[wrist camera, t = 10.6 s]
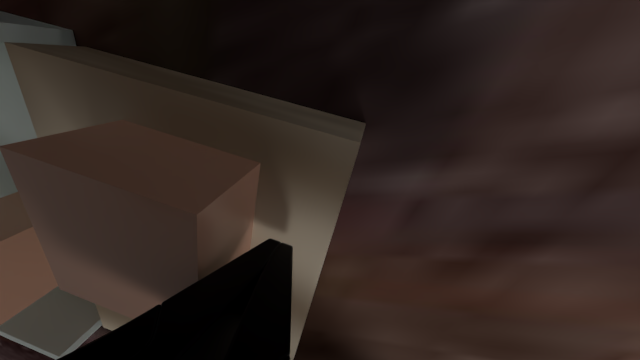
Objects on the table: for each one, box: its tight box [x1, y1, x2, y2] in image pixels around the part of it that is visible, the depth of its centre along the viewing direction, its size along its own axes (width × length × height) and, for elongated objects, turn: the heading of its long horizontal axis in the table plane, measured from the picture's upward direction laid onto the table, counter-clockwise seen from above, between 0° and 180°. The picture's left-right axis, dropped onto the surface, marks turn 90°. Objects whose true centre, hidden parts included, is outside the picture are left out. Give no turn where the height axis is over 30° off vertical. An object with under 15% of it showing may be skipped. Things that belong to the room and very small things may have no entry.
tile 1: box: [0, 120, 260, 319], centre depth 8 cm, size 5×5×3 cm
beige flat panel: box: [4, 42, 366, 360], centre depth 12 cm, size 16×12×2 cm
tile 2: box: [0, 192, 58, 325], centre depth 13 cm, size 5×5×3 cm
